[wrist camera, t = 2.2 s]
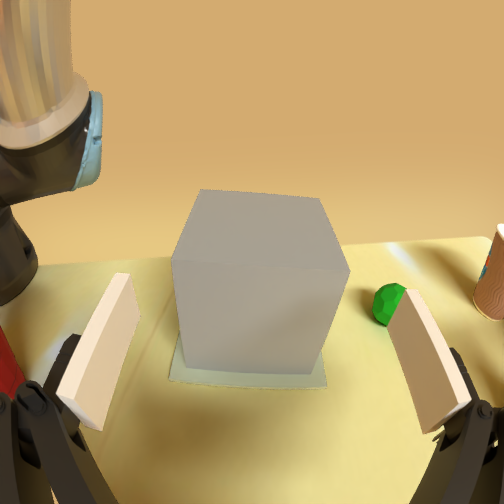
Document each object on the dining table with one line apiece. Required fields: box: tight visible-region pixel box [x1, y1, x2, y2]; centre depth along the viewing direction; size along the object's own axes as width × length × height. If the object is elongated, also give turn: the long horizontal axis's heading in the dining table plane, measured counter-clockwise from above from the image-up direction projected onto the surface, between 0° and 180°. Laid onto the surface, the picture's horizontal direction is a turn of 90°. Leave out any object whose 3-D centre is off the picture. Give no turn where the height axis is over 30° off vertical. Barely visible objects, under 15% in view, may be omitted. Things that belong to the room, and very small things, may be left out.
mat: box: [169, 331, 327, 390], centre depth 29 cm, size 14×14×1 cm
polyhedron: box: [372, 283, 406, 326], centre depth 30 cm, size 5×5×5 cm
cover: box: [171, 189, 350, 374], centre depth 26 cm, size 11×11×12 cm
